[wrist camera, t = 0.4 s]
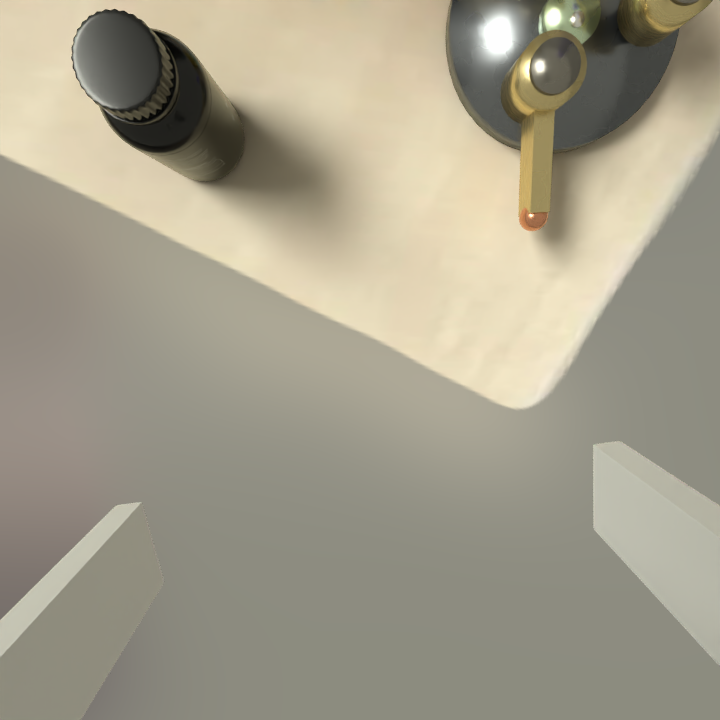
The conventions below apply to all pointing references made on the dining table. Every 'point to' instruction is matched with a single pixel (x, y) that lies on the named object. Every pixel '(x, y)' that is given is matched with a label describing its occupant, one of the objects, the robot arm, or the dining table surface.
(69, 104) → the dining table surface
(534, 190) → the knob
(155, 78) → the supplement bottle
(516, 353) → the dining table surface
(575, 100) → the tribrach plate
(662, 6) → the knob
